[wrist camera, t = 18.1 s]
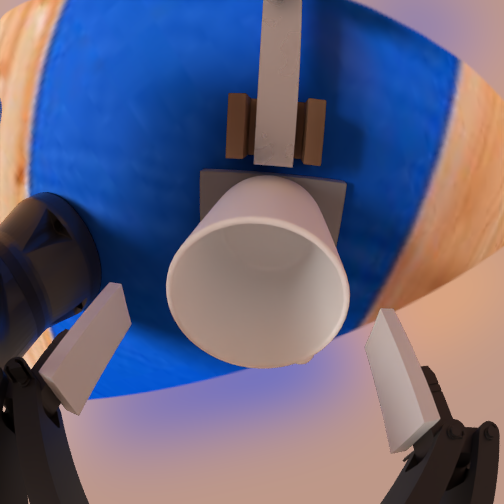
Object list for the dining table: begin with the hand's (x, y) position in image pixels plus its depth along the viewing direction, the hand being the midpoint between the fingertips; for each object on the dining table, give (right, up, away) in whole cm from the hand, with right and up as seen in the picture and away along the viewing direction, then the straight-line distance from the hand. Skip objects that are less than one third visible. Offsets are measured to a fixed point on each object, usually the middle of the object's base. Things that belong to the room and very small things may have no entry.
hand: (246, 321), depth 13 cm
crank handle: (+2, +17, +1) cm, 17 cm away
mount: (+2, +13, +6) cm, 14 cm away
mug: (+2, +4, +9) cm, 10 cm away
